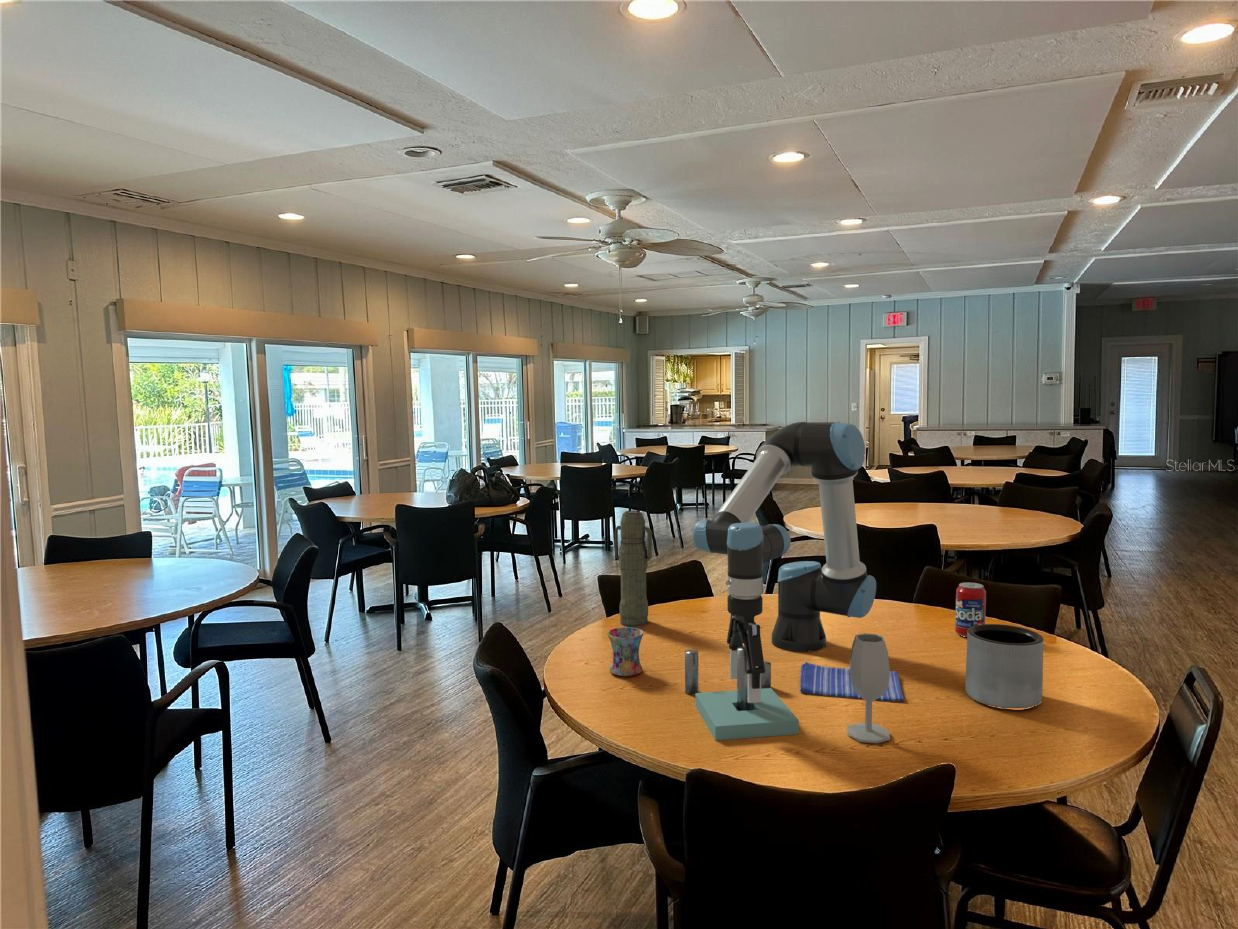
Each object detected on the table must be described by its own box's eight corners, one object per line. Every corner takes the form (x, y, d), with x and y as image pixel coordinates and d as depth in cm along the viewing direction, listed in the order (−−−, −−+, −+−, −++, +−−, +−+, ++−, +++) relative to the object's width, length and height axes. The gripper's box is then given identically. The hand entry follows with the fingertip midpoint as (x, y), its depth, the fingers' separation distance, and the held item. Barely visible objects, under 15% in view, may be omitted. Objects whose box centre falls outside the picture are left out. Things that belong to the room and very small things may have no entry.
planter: (1011, 718, 171) (1013, 649, 169) (949, 694, 185) (951, 629, 183) (1057, 704, 178) (1060, 637, 177) (995, 681, 192) (997, 619, 191)
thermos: (650, 627, 239) (649, 514, 236) (612, 625, 242) (610, 513, 238) (655, 619, 248) (654, 509, 244) (618, 617, 250) (617, 509, 247)
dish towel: (801, 671, 203) (801, 660, 202) (898, 678, 196) (898, 667, 196) (798, 696, 186) (798, 684, 186) (904, 705, 180) (904, 693, 180)
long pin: (749, 715, 174) (749, 645, 173) (753, 721, 171) (753, 650, 169) (735, 716, 174) (735, 646, 172) (739, 723, 171) (739, 651, 169)
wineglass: (840, 727, 167) (841, 632, 165) (879, 725, 168) (881, 630, 166) (856, 746, 159) (857, 645, 157) (897, 743, 160) (899, 643, 157)
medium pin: (696, 689, 190) (696, 649, 189) (699, 694, 187) (699, 653, 186) (683, 690, 189) (683, 650, 188) (686, 695, 186) (686, 654, 185)
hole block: (770, 700, 182) (771, 688, 182) (798, 734, 165) (798, 720, 164) (695, 705, 180) (695, 693, 180) (715, 740, 162) (715, 726, 162)
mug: (636, 681, 196) (635, 639, 195) (602, 676, 199) (601, 635, 198) (652, 665, 207) (652, 626, 206) (620, 661, 210) (619, 622, 209)
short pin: (768, 684, 192) (768, 661, 192) (772, 689, 189) (772, 665, 188) (755, 685, 192) (755, 661, 191) (759, 690, 189) (760, 666, 188)
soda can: (986, 633, 229) (988, 583, 227) (982, 641, 222) (984, 589, 221) (957, 629, 233) (958, 580, 231) (952, 637, 226) (954, 586, 225)
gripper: (713, 581, 181) (713, 670, 183) (745, 611, 157) (744, 714, 159) (744, 580, 182) (744, 668, 184) (781, 610, 158) (780, 711, 160)
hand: (744, 689), depth 172 cm, fingers open, 13 cm apart
